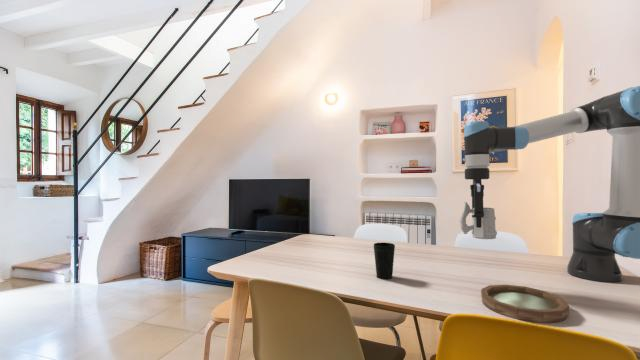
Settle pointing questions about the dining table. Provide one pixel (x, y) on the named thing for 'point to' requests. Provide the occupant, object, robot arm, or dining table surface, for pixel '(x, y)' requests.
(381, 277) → the cup
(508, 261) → the dining table surface
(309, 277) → the dining table surface
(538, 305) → the tray
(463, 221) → the mug
